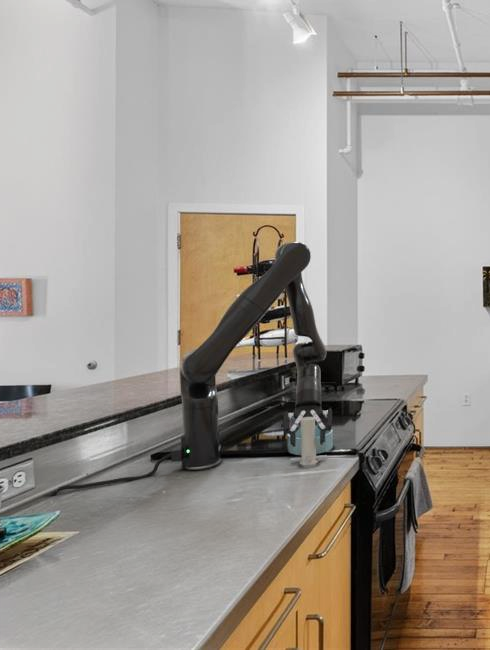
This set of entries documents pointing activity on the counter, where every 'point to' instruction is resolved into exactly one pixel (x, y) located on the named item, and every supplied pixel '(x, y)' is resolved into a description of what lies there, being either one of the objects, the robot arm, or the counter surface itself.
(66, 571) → the counter surface
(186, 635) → the counter surface
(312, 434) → the blade
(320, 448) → the processor bowl
